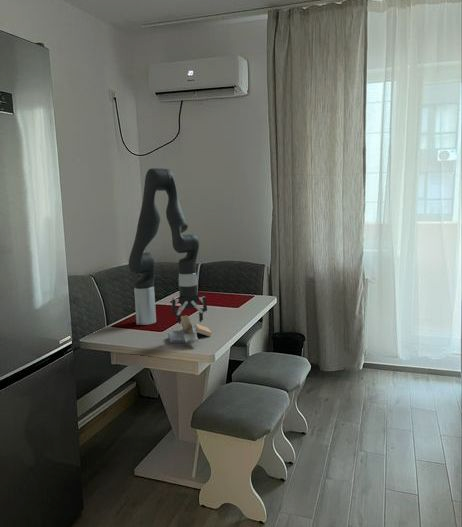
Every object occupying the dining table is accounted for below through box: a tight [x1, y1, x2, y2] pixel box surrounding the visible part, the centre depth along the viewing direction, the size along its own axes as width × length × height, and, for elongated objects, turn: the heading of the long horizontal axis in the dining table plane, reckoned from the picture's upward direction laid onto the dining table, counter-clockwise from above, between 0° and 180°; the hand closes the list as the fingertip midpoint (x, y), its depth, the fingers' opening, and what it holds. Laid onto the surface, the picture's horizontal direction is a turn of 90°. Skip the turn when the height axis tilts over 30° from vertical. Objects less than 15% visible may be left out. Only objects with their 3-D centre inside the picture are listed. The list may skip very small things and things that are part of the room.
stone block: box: [167, 327, 198, 344], centre depth 188 cm, size 12×5×10 cm
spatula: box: [180, 315, 199, 344], centre depth 185 cm, size 5×18×4 cm, turn 14°
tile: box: [193, 323, 212, 338], centre depth 193 cm, size 6×2×8 cm
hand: (190, 322), depth 187 cm, fingers open, 8 cm apart
